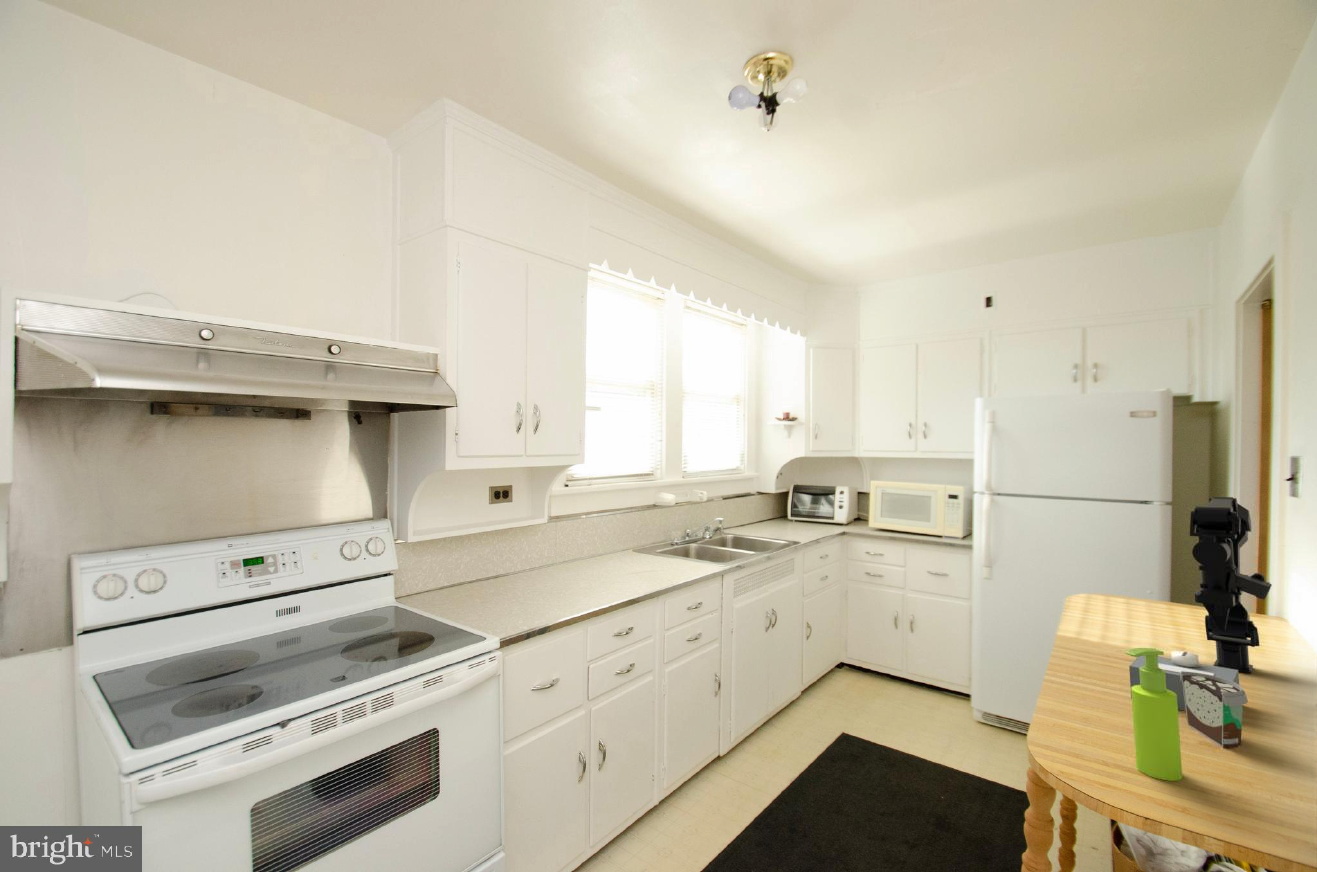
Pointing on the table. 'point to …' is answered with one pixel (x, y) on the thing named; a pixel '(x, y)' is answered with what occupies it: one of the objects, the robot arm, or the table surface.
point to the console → (1174, 675)
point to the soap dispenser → (1155, 720)
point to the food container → (1214, 707)
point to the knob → (1185, 659)
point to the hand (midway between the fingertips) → (1221, 630)
